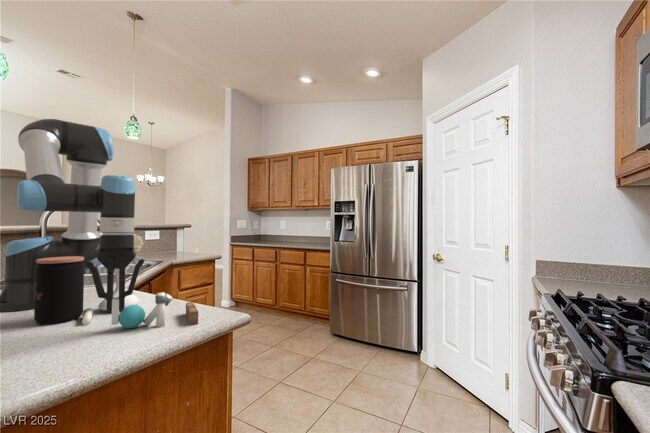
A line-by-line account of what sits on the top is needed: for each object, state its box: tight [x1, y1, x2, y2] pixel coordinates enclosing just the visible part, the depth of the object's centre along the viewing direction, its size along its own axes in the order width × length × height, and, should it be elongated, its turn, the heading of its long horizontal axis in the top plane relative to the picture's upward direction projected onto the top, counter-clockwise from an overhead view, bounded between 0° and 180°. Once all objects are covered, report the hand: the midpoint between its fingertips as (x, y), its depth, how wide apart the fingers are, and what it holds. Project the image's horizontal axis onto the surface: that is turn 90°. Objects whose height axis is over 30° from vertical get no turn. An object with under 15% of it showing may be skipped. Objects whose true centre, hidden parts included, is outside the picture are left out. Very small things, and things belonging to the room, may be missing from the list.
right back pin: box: [154, 291, 167, 328], centre depth 81 cm, size 3×3×9 cm
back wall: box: [185, 301, 199, 326], centre depth 88 cm, size 12×2×4 cm, turn 31°
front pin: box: [142, 293, 173, 326], centre depth 83 cm, size 3×3×9 cm
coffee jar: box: [33, 256, 85, 326], centre depth 87 cm, size 11×11×18 cm
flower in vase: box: [97, 233, 144, 311], centre depth 98 cm, size 13×11×25 cm
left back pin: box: [81, 307, 95, 326], centre depth 86 cm, size 3×3×9 cm
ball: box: [119, 304, 146, 329], centre depth 80 cm, size 6×6×6 cm
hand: (115, 322), depth 78 cm, fingers closed
